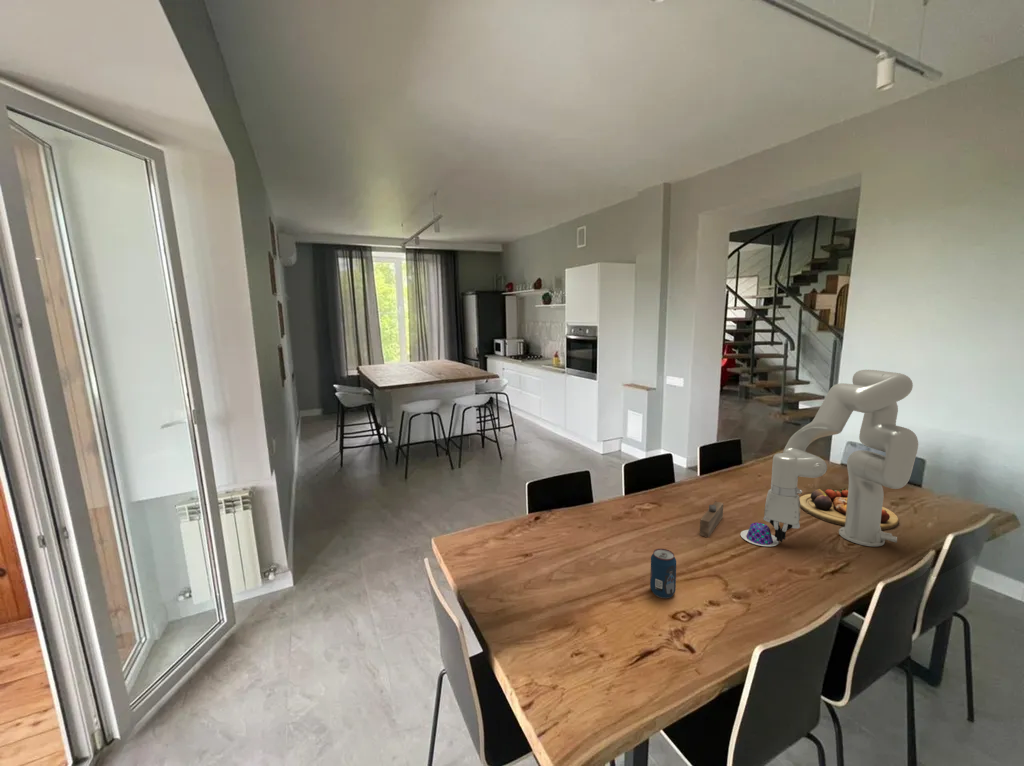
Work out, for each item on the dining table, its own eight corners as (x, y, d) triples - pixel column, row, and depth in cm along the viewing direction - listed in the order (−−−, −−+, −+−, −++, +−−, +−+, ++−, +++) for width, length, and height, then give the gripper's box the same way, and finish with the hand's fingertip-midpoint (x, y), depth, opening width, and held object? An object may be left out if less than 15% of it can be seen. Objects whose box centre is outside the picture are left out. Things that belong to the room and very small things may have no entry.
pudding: (762, 551, 145) (763, 536, 144) (732, 535, 156) (733, 521, 155) (787, 544, 149) (788, 530, 148) (756, 529, 160) (757, 515, 159)
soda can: (655, 582, 128) (656, 544, 127) (678, 590, 124) (680, 552, 122) (646, 593, 123) (647, 555, 121) (670, 603, 119) (671, 563, 117)
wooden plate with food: (922, 532, 155) (925, 510, 154) (832, 531, 156) (834, 509, 156) (855, 498, 187) (857, 480, 186) (781, 497, 188) (782, 479, 187)
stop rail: (722, 517, 169) (723, 498, 168) (708, 537, 154) (709, 516, 153) (714, 515, 171) (715, 496, 170) (699, 535, 156) (700, 514, 155)
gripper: (811, 491, 144) (806, 542, 146) (760, 481, 153) (757, 529, 156) (809, 498, 138) (804, 551, 140) (756, 488, 147) (753, 537, 150)
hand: (779, 539), depth 148 cm, fingers closed
